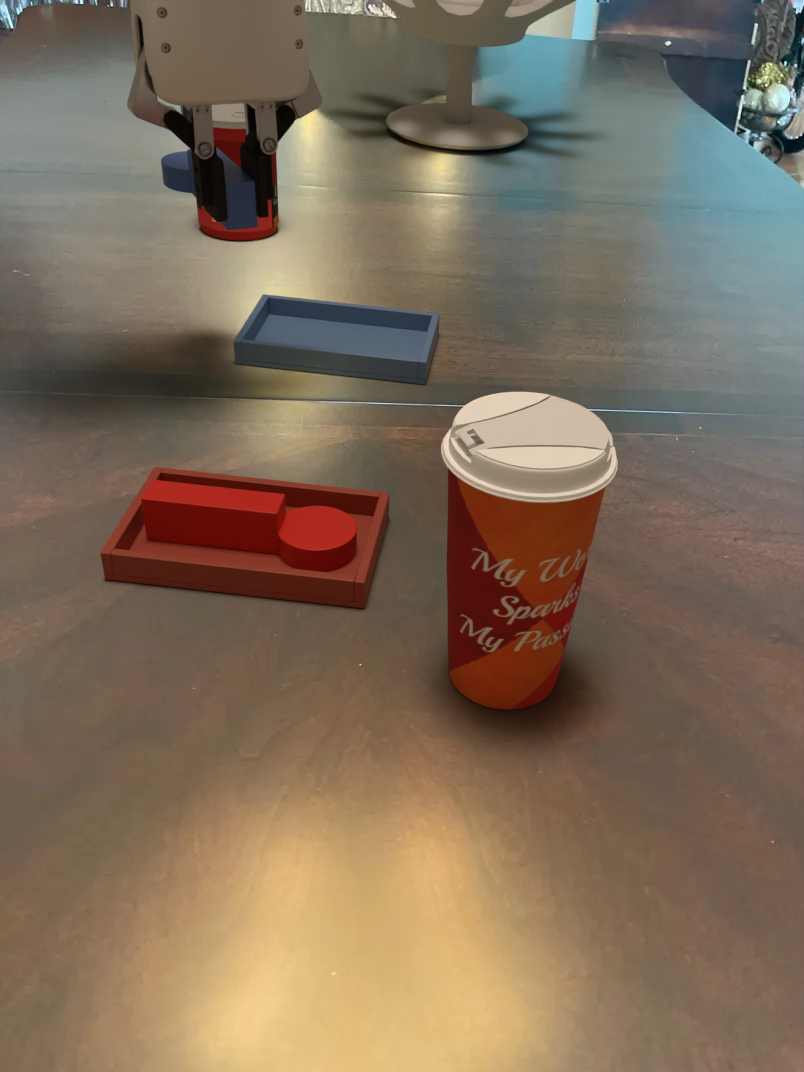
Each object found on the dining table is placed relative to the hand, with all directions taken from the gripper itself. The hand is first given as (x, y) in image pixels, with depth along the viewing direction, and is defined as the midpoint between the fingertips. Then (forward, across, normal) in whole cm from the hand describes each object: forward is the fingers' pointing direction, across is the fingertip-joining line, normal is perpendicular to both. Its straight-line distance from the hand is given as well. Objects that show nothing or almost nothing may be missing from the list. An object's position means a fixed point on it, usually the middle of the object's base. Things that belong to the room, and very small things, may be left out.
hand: (235, 211), depth 71 cm
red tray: (+13, +6, +19) cm, 24 cm away
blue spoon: (+1, 0, -5) cm, 5 cm away
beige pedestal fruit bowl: (+14, -50, -60) cm, 79 cm away
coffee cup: (+14, -2, +36) cm, 38 cm away
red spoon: (+13, +6, +19) cm, 24 cm away
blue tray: (+13, -10, -5) cm, 17 cm away
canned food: (+14, -11, -34) cm, 38 cm away
